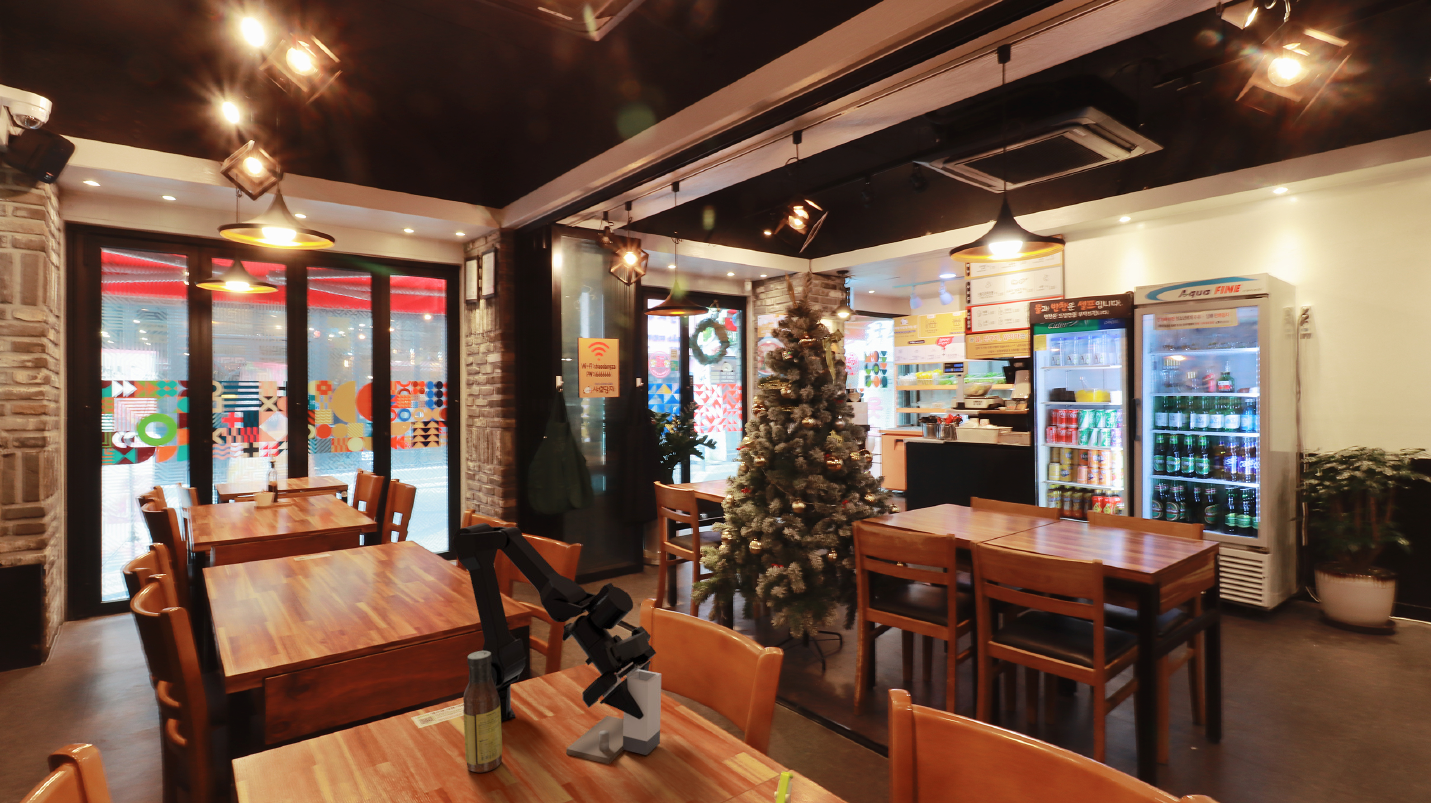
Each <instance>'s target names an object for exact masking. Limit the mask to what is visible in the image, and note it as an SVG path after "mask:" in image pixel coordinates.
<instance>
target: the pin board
mask: <svg viewBox="0 0 1431 803" xmlns="http://www.w3.org/2000/svg"><path fill="white" fill-rule="evenodd" d="M623 721H624V718H620V717H617V716H616V717H615V716H611V715H606V716H604V717H603V718H602V719H601V720H600V721H598V722H597V723H596V724H595V725H593V727H591V728H590V729H588V730H587V731H586V732H585V733H584V734H582V735H581V736H580V737H579V738H577V739H576V740H575V741H574V742H573V743H572V744H570V745H569V746H568V747H566V748H565V749H566V752H565V753H566V755H569V756H573V757H577V758H581V759H586V760H590V761H594V762H598V763H602V764H607V765H610V764H611V763H612V762H613V761H614V760H616V758H617V757H618V756H619V755H620V754H621V753H623V751H624V749H623Z"/></svg>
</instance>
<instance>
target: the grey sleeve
mask: <svg viewBox="0 0 1431 803" xmlns="http://www.w3.org/2000/svg"><path fill="white" fill-rule="evenodd" d="M623 678H624V679H623V680H625V679H626V678H627V683H628V691H629V692H630V694H631V695H632V697H633V698H634V700H635V701H636V703H637V704H638V706H639V707H640V709H641V711H642V713H643V715H644V716H643V717H642V718H641V719H637V718H635V717H633V716H631V715H629V714H627V713H625V712H623V719H624V721H623V749H624V750H625V751H627V752H632V753H637V754H641V755H644V756H648V755H649V754H650V753H651V752H652V751H653V750H654V749H655V748H657V746H659V744H661V742H660V741H661V709H662V708H661V703H662V702H661V701H662V700H661V699H662V698H661V697H662V673H659V672H655V671H654V672H653V671H650V670H648V671H645V670H640V669H638V670H636V671H635V672H633V673H632V674H630V675H629V676H625V677H623ZM624 750H623V751H624Z"/></svg>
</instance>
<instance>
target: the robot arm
mask: <svg viewBox="0 0 1431 803" xmlns="http://www.w3.org/2000/svg"><path fill="white" fill-rule="evenodd" d="M452 545H453V549H454V551H455V554H456V557H457V559H458V562H460V563H461V564H462V566H463V567H464V568H465V569H466V570H467V571H468V573H469V578H470V582H471V586H472V591H473V595H474V596H473V597H474V600H475V603H476V608H477V609H476V610H477V613H478V617H479V621H480V626H481V631H482V634H483V641H484V642H483V645H482V650H481V651H488V652H490V653H491V657H492V661H491V674H492V679H493V682H494V685H495V688H496V690H497V692H498V695H499V698H500V711H501V722H504V721H509V720H513V719H516V713H515V711H514V710H513V708H512V704H511V703H512V699H511V698H512V696H511V694H512V692H511V690H512V688H511V684H512V683H514V682H516V681H518V680H519V678H520V676H521V675H520V674H521V673H522V672H523V670H524V668H526V658H527V657H528V656H527V654H526V652H525V649H524V642H523V639H522V638H518V639H516V638H515V637H514V636H513V635H512V634H511V632H510V630H509V625H508V622H507V621H508V620H507V617H506V612H505V609H504V604H503V599H502V594H501V590H500V586H499V582H498V576H497V574H496V568H495V561H496V557H497V554H498V550H501V552H503V554H504V555H505V556H506V557H507V558H508V559H509V561H511V563H512V564H513V565H514V566H515V567H516V568H517V569H518V570H519V571H520V572H521V574H522V575H523V576H524V577H525V578H526V579H527V580H528V582H529V583H530V584H531V585H532V586H533V587H534V588H535V590H536V591H537V592H538V594H539V599H540V603H541V606H542V607H543V608H544V610H545V612H546V613H547V615H548V616H549V617H550V618H551V620H552V621H554V622H556V623H564V622H568V621H569V620H571V619H573V618H576V619H575V620H574V621H573V622H568V623H567V624H565V625H564V626H563V633H562V641H563V642H565V641H567V640H568V639H571V638H572V637H573V639H574V640H575V641H576V643H577V645H579V647H580V649H581V650H582V652H584V654H585V655H586V656H587V659H585V661H584V662H585V664H586V665H587V666H589V665H591V664H592V665H593V666H594V667H595V669H596V670H597V671H598V673H599V674H600V676H598V677H597V678H595V679H594V681H593V682H591V684H590V685H588V686H587V687H586V688H585V689H584V690H583V691H582V693H581V694H582V695H581V696H582V702H584V704H585V705H586V706H587V708H588V709H589V708H590V707H592V706H593V705H595V704H596V703H597V702H599V704H600V705H603V704H604V705H607V706H609V707H613V708H615V709H617V710H619V711H621V712H622V713H624V712H625V713H627V714H629V715H631V716H633V717H635V718H637V719H641V718H642V717H643V716H644V715H643V713H642V711H641V709H640V707H639V706H638V704H637V703H636V701H635V700H634V698H633V697H632V695H631V694H630V692H629V691H628V683H627V678H626V677H627V676H629V675H630V674H632V673H633V672H635V671H636V670H638V669H640V670H645V671H650V670H649V668H650V665H651V663H652V662H651V659H652V658H653V657H654V656H655V655H656V654H657V651H656V650H655V648H653V646H652V645H650V643H649V641H650V639H651V634H650V633H648V631H647V630H646V629H645V628H644V626H642V625H640V626H638V627H635V628H634V629H632V630H631V635H630V636H628V637H626V638H624V639H622V638H621V636H620V635H618V634H616V635H614V636H612V635H611V633H610V632H609V630H612V629H614V628H615V627H616V626H617V625H618V624H619V623H620V622H621V621H622V620H623V619H624V618H625V617H626V616H627V615H629V613H630V612H631V611H632V610H633V608H634V602H633V599H632V597H631V596H630V594H629V593H628V592H626V591H625V590H624V589H622V588H620V587H617V586H614V584H613V583H612V582H608V583H606V584H605V585H603V586H602V587H601V588H600V590H599V592H598V593H597V594H595V593H592V592H588V591H586V590H585V589H584V588H583V587H582V586H581V585H579V584H578V583H576V581H574V580H573V579H571V578H568V577H565V576H563V575H561V574H560V573H559V572H557V571H556V570H555V569H554V567H552V565H550V563H549V562H547V560H546V559H545V558H544V557H543V556H542V555H541V554H540V553H539V551H538V550H537V549H536V548H535V547H534V546H533V545H532V544H531V542H529V541H528V540H527V539H526V538H525V536H524V535H523V532H522V530H521V529H520V528H518V527H516V526H510V527H507V526H491V524H489V523H486V522H483V523H481V522H480V523H477V524H473V525H470V526H465V527H461V528H459V529H458V530H457V531H456V532H455V534H454V536H453V537H452ZM586 612H587V614H584V615H582V614H583V613H586ZM622 678H626V679H625V680H624V679H623V680H622ZM601 697H603V699H601V700H600V701H599V699H600V698H601Z"/></svg>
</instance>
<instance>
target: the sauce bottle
mask: <svg viewBox="0 0 1431 803" xmlns="http://www.w3.org/2000/svg"><path fill="white" fill-rule="evenodd" d="M491 661H492V657H491V653H490V652H488V651H482V650H479V651H474V652H471V653H470V654H468V655H467V665H468V674H469V676H468V684H467V686H466V687H465V689H464V693H463V699H462V700H463V729H464V733H463V734H464V751H465V752H464V753H465V754H464V755H465V756H464V757H465V762H466V768H467V769H468V772H469V771H470V772H472V773H473V772H474V773H478V774H481V773H487V772H491V771H493V770H494V769H497V767H499V766H500V765H501V763H502V760H503V756H502V755H503V738H502V736H503V734H502V733H503V732H502V721H501V711H500V698H499V695H498V692H497V690H496V688H495V685H494V682H493V679H492V674H491Z"/></svg>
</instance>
